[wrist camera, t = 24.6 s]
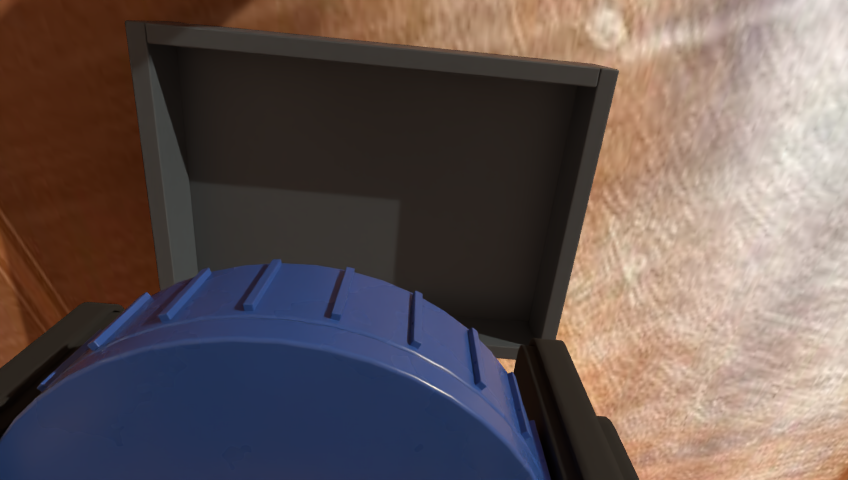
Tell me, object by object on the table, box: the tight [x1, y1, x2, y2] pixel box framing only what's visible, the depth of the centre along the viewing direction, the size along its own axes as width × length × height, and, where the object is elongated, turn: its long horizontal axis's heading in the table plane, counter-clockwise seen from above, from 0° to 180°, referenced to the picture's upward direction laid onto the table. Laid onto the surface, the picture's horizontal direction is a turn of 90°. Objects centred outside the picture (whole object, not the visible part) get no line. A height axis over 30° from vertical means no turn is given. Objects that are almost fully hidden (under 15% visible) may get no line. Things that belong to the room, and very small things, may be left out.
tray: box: [125, 20, 619, 360], centre depth 19 cm, size 15×11×2 cm
